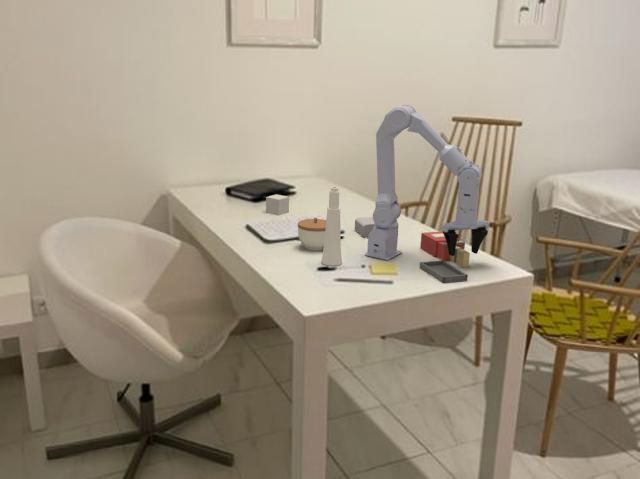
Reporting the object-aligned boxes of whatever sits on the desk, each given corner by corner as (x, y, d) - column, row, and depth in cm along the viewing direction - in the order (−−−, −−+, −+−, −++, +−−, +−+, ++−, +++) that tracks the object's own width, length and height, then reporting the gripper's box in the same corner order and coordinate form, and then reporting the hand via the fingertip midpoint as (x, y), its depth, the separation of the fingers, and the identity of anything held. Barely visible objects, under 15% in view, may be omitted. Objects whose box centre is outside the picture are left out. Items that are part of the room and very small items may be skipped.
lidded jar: (338, 246, 203) (339, 217, 201) (320, 255, 195) (321, 224, 192) (309, 240, 209) (309, 211, 206) (290, 248, 200) (291, 218, 197)
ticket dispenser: (465, 258, 195) (466, 242, 194) (441, 261, 192) (443, 244, 191) (442, 246, 207) (444, 230, 205) (420, 248, 204) (421, 232, 202)
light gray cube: (288, 212, 242) (289, 196, 241) (278, 215, 238) (279, 199, 236) (276, 209, 246) (276, 194, 244) (265, 212, 241) (266, 197, 239)
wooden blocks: (468, 266, 188) (469, 252, 187) (462, 267, 188) (463, 253, 186) (450, 256, 197) (451, 242, 196) (444, 256, 196) (445, 243, 195)
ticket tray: (467, 280, 177) (467, 274, 176) (442, 283, 174) (443, 277, 174) (442, 265, 189) (443, 260, 188) (419, 267, 186) (419, 262, 186)
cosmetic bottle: (346, 262, 188) (349, 187, 182) (332, 267, 184) (335, 190, 178) (330, 257, 192) (333, 184, 186) (316, 262, 188) (319, 187, 181)
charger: (373, 225, 229) (389, 237, 216) (348, 226, 227) (363, 238, 213) (374, 212, 228) (390, 223, 214) (349, 213, 226) (363, 224, 212)
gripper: (452, 212, 179) (448, 260, 183) (497, 209, 184) (492, 255, 188) (439, 206, 185) (435, 252, 189) (483, 204, 190) (478, 248, 194)
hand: (463, 253), depth 189 cm, fingers open, 7 cm apart
